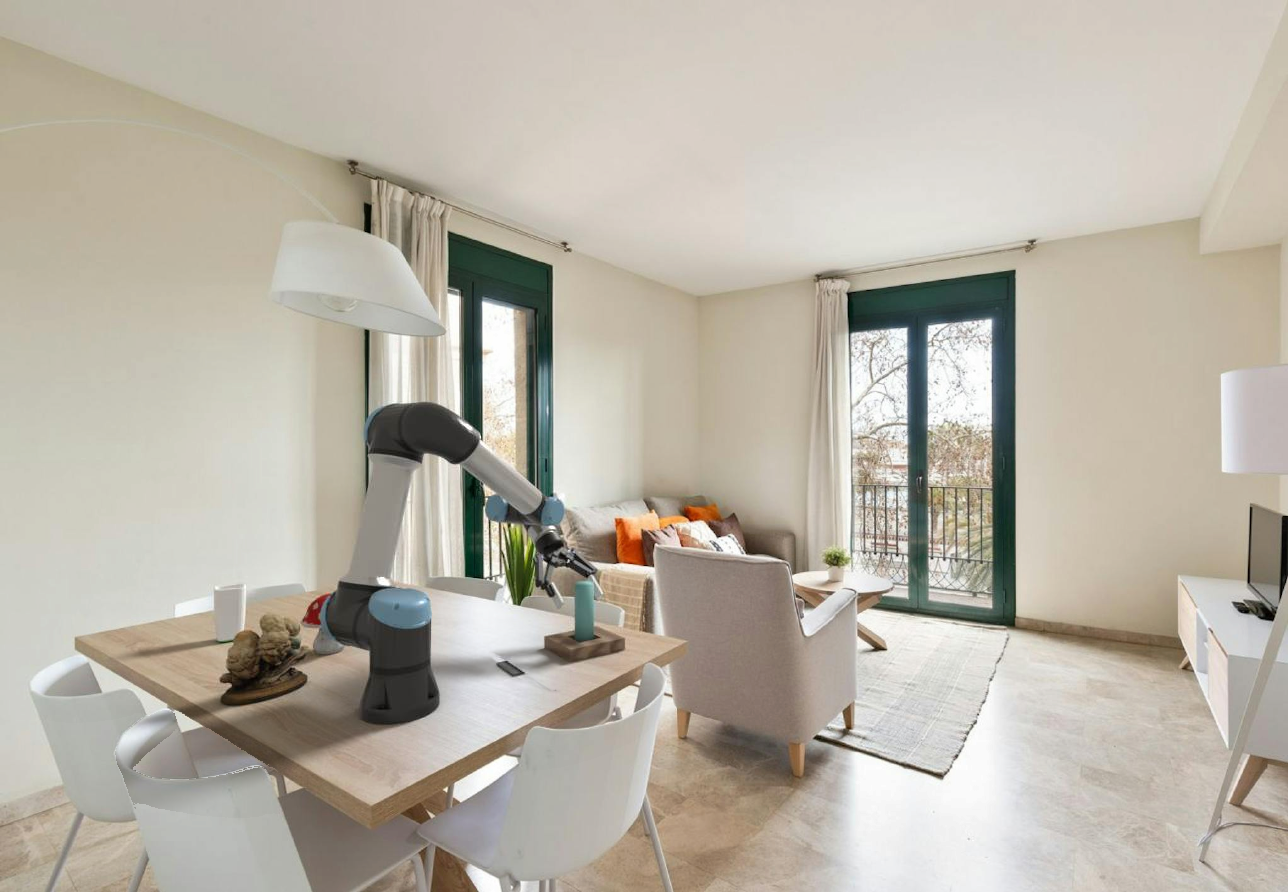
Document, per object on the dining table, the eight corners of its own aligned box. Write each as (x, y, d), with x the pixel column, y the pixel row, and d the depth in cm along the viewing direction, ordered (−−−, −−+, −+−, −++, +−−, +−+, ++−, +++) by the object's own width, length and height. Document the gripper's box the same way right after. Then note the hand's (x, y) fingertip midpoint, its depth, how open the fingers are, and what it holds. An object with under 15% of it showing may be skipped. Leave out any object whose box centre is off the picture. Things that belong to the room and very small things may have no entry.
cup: (243, 634, 177) (244, 582, 177) (246, 640, 171) (246, 587, 172) (213, 639, 173) (213, 586, 173) (214, 645, 167) (214, 590, 167)
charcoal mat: (513, 676, 142) (513, 674, 142) (496, 664, 150) (496, 662, 150) (552, 667, 148) (552, 665, 148) (533, 656, 156) (533, 654, 156)
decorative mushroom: (369, 648, 164) (369, 592, 164) (317, 663, 152) (317, 602, 152) (341, 639, 172) (341, 586, 172) (289, 653, 160) (289, 595, 160)
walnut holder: (570, 666, 149) (570, 649, 149) (544, 651, 160) (544, 636, 160) (625, 653, 158) (624, 637, 158) (596, 640, 170) (596, 625, 170)
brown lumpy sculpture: (293, 673, 145) (293, 601, 146) (323, 682, 139) (323, 607, 140) (208, 699, 130) (208, 618, 130) (238, 711, 124) (238, 626, 124)
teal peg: (580, 652, 156) (580, 586, 156) (571, 648, 160) (571, 582, 160) (597, 649, 159) (597, 583, 159) (587, 644, 163) (587, 580, 163)
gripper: (574, 542, 183) (608, 601, 173) (503, 552, 165) (536, 618, 155) (585, 526, 180) (621, 585, 169) (514, 534, 161) (549, 601, 151)
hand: (581, 601), depth 162 cm, fingers open, 13 cm apart
